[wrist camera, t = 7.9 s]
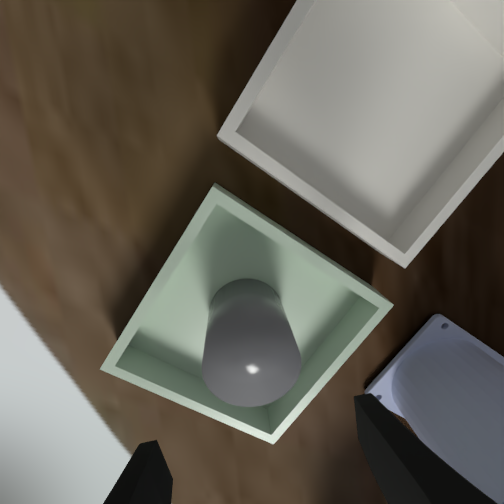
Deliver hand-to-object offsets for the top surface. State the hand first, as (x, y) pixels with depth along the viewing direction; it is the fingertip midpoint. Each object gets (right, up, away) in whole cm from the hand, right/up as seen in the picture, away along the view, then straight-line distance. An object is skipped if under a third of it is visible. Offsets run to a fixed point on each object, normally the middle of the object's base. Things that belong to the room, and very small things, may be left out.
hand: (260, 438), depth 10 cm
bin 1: (+6, +14, +5) cm, 17 cm away
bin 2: (-1, +3, +8) cm, 9 cm away
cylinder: (-1, +3, +8) cm, 8 cm away
